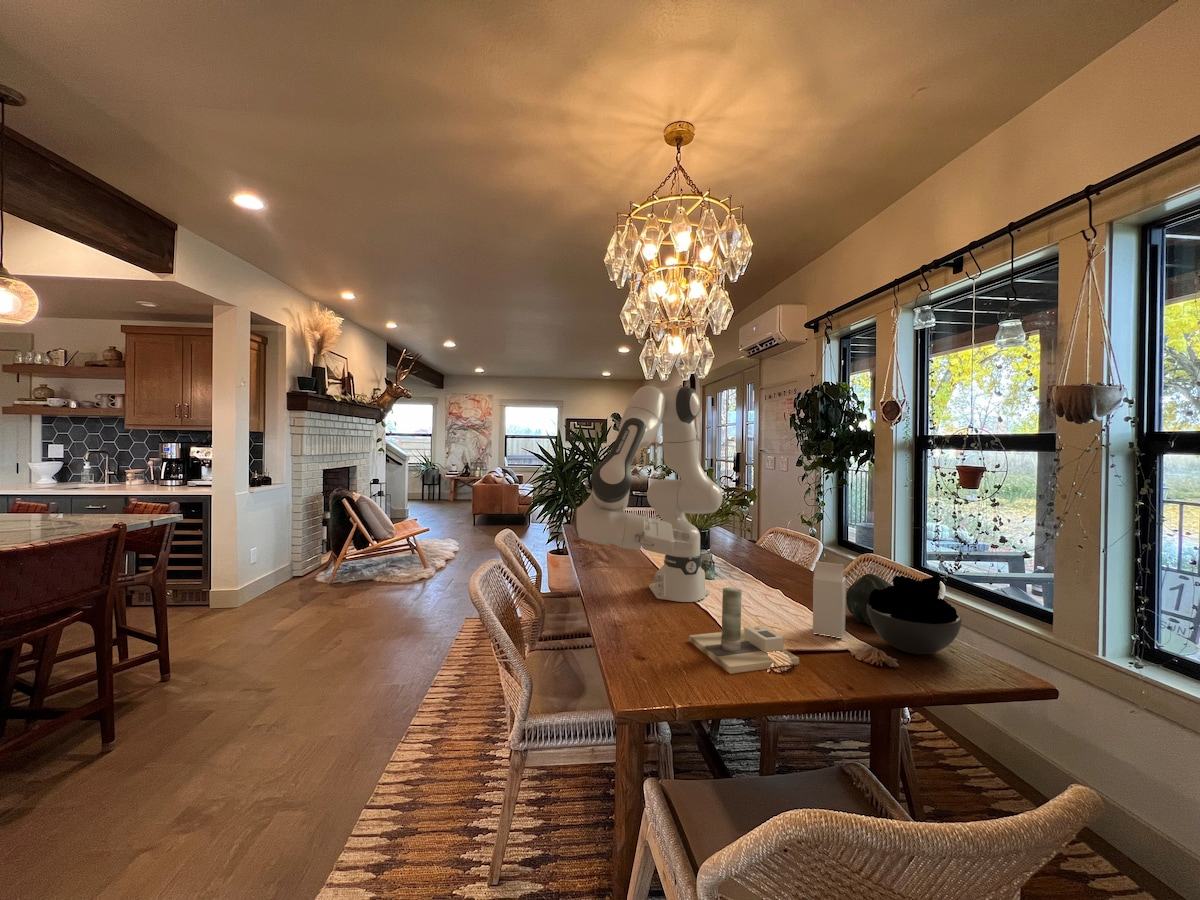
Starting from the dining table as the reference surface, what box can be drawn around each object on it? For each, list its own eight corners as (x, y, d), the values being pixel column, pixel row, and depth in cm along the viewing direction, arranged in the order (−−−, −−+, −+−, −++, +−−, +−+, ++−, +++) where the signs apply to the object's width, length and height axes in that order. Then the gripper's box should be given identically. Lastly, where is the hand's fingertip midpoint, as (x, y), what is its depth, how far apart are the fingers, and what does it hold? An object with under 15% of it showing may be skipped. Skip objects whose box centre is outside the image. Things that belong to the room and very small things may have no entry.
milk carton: (841, 640, 136) (842, 567, 136) (812, 634, 140) (813, 563, 140) (845, 631, 142) (845, 562, 142) (817, 626, 146) (817, 559, 146)
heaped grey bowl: (873, 661, 123) (874, 581, 123) (861, 632, 142) (861, 563, 142) (974, 673, 116) (975, 589, 116) (946, 642, 135) (947, 569, 135)
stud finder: (744, 638, 132) (744, 626, 132) (761, 636, 134) (761, 624, 134) (765, 652, 124) (765, 638, 124) (783, 650, 125) (783, 636, 125)
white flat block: (689, 641, 135) (689, 634, 135) (750, 634, 140) (750, 628, 140) (730, 673, 116) (730, 666, 116) (799, 664, 121) (799, 657, 121)
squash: (901, 597, 156) (866, 559, 157) (923, 615, 142) (884, 572, 143) (862, 626, 159) (828, 588, 160) (880, 647, 144) (842, 604, 145)
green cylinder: (717, 645, 128) (718, 588, 127) (733, 643, 129) (735, 586, 129) (727, 652, 123) (728, 593, 123) (744, 650, 125) (745, 591, 124)
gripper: (637, 529, 123) (695, 539, 122) (639, 512, 143) (689, 521, 142) (632, 555, 123) (691, 565, 122) (635, 534, 144) (685, 543, 142)
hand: (690, 541), depth 132 cm, fingers open, 8 cm apart
